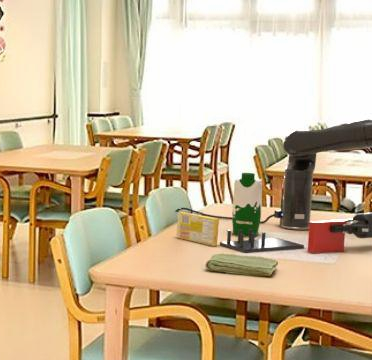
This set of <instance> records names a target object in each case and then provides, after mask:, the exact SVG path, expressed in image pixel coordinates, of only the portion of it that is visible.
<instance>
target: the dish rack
mask: <svg viewBox="0 0 372 360" xmlns="http://www.w3.org/2000/svg"><path fill="white" fill-rule="evenodd" d="M252 230H253V229H249V236H248V239H244V238H245V236H244V234H242V230H240V229H239V230H238V235H237V240H231V239H232V229H231V230H230V229H228V230H227V234H226V241H219V246H221V247H223V248H226V249H227V248H228V249H231V250H235V251H237V252H240V253H244V254H247V253H258V252H260V253H261V252H273V251H286V250H298V249H299V250H300V249H304V248H305V244H301V243H298V242H293V241H289V240H286V239H283V238H280V237H279V238H278V237H274V238H266V232H265V231H262V232H261V238H258V239H255V233H252Z"/></svg>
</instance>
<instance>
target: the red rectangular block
mask: <svg viewBox="0 0 372 360" xmlns="http://www.w3.org/2000/svg"><path fill="white" fill-rule="evenodd" d="M343 220H344V219H339V220H334V219H330V220H317V221H310V222H309V229H308V240H307V253H309V254H322V253H323V254H324V253H333V252H336V253H337V252H344V251H345V238H346V233H342V232H338V233H332V232H331V231H330V230H331V225H342V224H346V221H343Z"/></svg>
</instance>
